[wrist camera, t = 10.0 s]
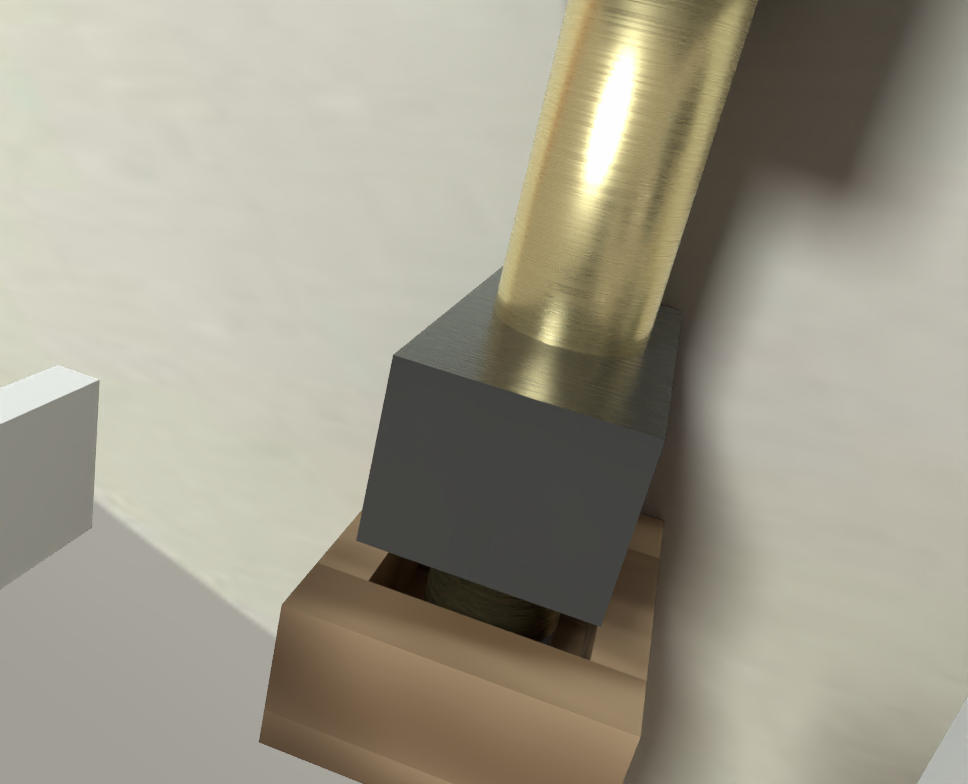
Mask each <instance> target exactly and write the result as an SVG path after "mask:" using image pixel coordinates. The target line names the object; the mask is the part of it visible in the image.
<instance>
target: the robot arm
mask: <svg viewBox="0 0 968 784" xmlns="http://www.w3.org/2000/svg"><path fill="white" fill-rule="evenodd" d="M98 399H99V379H96V378H93V377H90V376H88V375H85V374H82V373H79V372H76V371H73V370H71V369H68V368H65V367H62V366H59V365H56V366H54V367H51V368H49V369H46V370H44V371H41V372H39V373H36V374H34V375H31V376H29V377H26V378H24V379H21V380H19V381H16V382H14V383H11V384H9V385H6V386H4V387H1V388H0V589H1V588H3V587H4V586H6V585H7V584H9V583H10V582H12V581H13V580H15V579H16V578H18V577H19V576H21V575H22V574H23V573H25V572H27V571H28V570H30V569H31V568H33V567H34V566H36V565H37V564H39V563H40V562H41V561H43V560H45V559H46V558H47V557H49V556H51V555H52V554H53V553H55V552H56V551H58V550H59V549H61V548H62V547H64V546H65V545H67V544H68V543H70V542H71V541H73V540H74V539H76V538H77V537H79V536H80V535H82V534H83V533H85V532H86V531H88V530H89V529H91V528H92V514H93V495H94V476H95V456H96V437H97V418H98ZM917 784H968V697H967V698H966V700H965V702H964V704H963V705H962V707H961V709H960V710H959V712H958V714H957V716H956V717H955V719H954V721H953V722H952V724H951V726H950V728H949V729H948V731H947V733H946V734H945V736H944V738H943V740H942V741H941V743H940V745H939V747H938V748H937V750H936V752H935V753H934V755H933V757H932V759H931V760H930V762H929V764H928V765H927V767H926V769H925V771H924V772H923V774H922V776H921V777H920V779H919V781H918V783H917Z"/></svg>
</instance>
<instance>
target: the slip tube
mask: <svg viewBox="0 0 968 784" xmlns="http://www.w3.org/2000/svg"><path fill="white" fill-rule="evenodd" d="M757 2H758V0H568V3H567V7H566V11H565V15H564V19H563V23H562V28H561V32H560V36H559V40H558V44H557V48H556V52H555V56H554V60H553V65H552V69H551V73H550V77H549V81H548V85H547V89H546V93H545V97H544V102H543V106H542V110H541V114H540V118H539V122H538V126H537V130H536V134H535V139H534V143H533V147H532V151H531V155H530V159H529V163H528V167H527V171H526V176H525V180H524V184H523V188H522V192H521V196H520V200H519V204H518V208H517V213H516V217H515V221H514V225H513V229H512V233H511V237H510V241H509V245H508V250H507V254H506V258H505V262H504V266H503V267H501V268H500V269H499V270H498V271H496V272H495V273H494V274H493V275H491V276H490V277H489V278H488V279H487V280H485V281H484V282H483V283H482V284H480V285H479V286H478V287H477V288H475V289H474V290H473V291H472V292H470V293H469V294H468V295H467V296H466V297H464V298H463V299H462V300H461V301H459V302H458V303H457V304H456V305H454V306H453V307H452V308H451V309H449V310H448V311H447V312H446V313H445V314H443V315H442V316H441V317H440V318H438V319H437V320H436V321H435V322H433V323H432V324H431V325H430V326H428V327H427V328H426V329H425V330H424V331H422V332H421V333H420V334H419V335H417V336H416V337H415V338H414V339H412V340H411V341H410V342H409V343H407V344H406V345H405V346H404V347H403V348H401V349H400V350H399V351H398V352H396V353H395V354H394V355H393V359H392V364H391V369H390V374H389V379H388V384H387V389H386V394H385V399H384V404H383V409H382V414H381V419H380V424H379V429H378V434H377V439H376V444H375V449H374V454H373V459H372V464H371V469H370V474H369V479H368V484H367V489H366V494H365V499H364V504H363V509H362V514H361V519H360V524H359V529H358V534H357V539H356V541H358V542H361V543H364V544H366V545H369V546H372V547H375V548H378V549H381V550H383V551H386V552H389V553H392V554H395V555H398V556H400V557H403V558H406V559H409V560H412V561H415V562H418V563H420V564H423V565H426V566H429V567H430V570H429V574H428V579H427V583H426V587H425V591H424V595H423V599H422V600H423V601H425V602H428V603H431V604H434V605H437V606H439V607H442V608H445V609H448V610H451V611H453V612H456V613H459V614H462V615H464V616H467V617H470V618H473V619H476V620H478V621H481V622H484V623H487V624H490V625H492V626H495V627H498V628H501V629H503V630H506V631H509V632H512V633H515V634H517V635H520V636H523V637H526V638H529V639H531V640H534V641H537V642H540V643H542V644H545V645H548V646H550V645H551V642H552V639H553V636H554V633H555V630H556V626H557V623H558V620H559V617H560V614H561V613H562V614H565V615H568V616H571V617H574V618H577V619H580V620H582V621H585V622H588V623H591V624H594V625H597V626H599V627H601V625H602V622H603V619H604V616H605V613H606V610H607V607H608V604H609V602H610V599H611V596H612V593H613V590H614V587H615V584H616V581H617V578H618V576H619V573H620V570H621V567H622V564H623V561H624V558H625V555H626V553H627V550H628V547H629V544H630V541H631V538H632V535H633V532H634V529H635V527H636V524H637V521H638V518H639V515H640V512H641V509H642V506H643V504H644V501H645V498H646V495H647V492H648V489H649V486H650V483H651V480H652V478H653V475H654V472H655V469H656V466H657V463H658V460H659V457H660V455H661V452H662V449H663V446H664V443H665V440H666V432H667V425H668V417H669V410H670V402H671V394H672V387H673V379H674V371H675V364H676V356H677V349H678V341H679V333H680V326H681V318H682V311H681V310H677V309H674V308H670V307H667V306H663V305H660V304H661V300H662V297H663V294H664V291H665V288H666V285H667V282H668V279H669V276H670V273H671V269H672V266H673V263H674V260H675V257H676V254H677V251H678V248H679V245H680V241H681V238H682V235H683V232H684V229H685V226H686V223H687V220H688V217H689V214H690V210H691V207H692V204H693V201H694V198H695V195H696V192H697V189H698V186H699V183H700V179H701V176H702V173H703V170H704V167H705V164H706V161H707V158H708V155H709V151H710V148H711V145H712V142H713V139H714V136H715V133H716V130H717V127H718V124H719V120H720V117H721V114H722V111H723V108H724V105H725V102H726V99H727V96H728V92H729V89H730V86H731V83H732V80H733V77H734V74H735V71H736V68H737V65H738V61H739V58H740V55H741V52H742V49H743V46H744V43H745V40H746V37H747V33H748V30H749V27H750V24H751V21H752V18H753V15H754V12H755V9H756V6H757Z"/></svg>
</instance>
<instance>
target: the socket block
mask: <svg viewBox="0 0 968 784" xmlns="http://www.w3.org/2000/svg"><path fill="white" fill-rule="evenodd" d="M361 514H362V511H361V512H360V513H359V514H358V515H357V517H356V518H355V519H354V520H353V521H352V522H351V524H350V525H349V526H348V527H347V528H346V530H345V531H344V532H343V533H342V534H341V535H340V537H339V538H338V539H337V540H336V541H335V543H334V544H333V545H332V546H331V547H330V548H329V550H328V551H327V552H326V553H325V554H324V556H323V557H322V558H321V559H320V560H319V561H318V563H317V564H316V565H315V566H314V567H313V569H312V570H311V571H310V572H309V573H308V574H307V576H306V577H305V578H304V579H303V580H302V582H301V583H300V584H299V585H298V586H297V587H296V589H295V590H294V591H293V592H292V593H291V595H290V596H289V597H288V598H287V599H286V600H285V602H284V603H283V604H282V607H281V613H280V619H279V625H278V631H277V637H276V643H275V649H274V655H273V661H272V667H271V673H270V679H269V685H268V691H267V697H266V704H265V710H264V716H263V721H262V727H261V733H260V739H259V742H260V743H263V744H265V745H267V746H270V747H272V748H275V749H278V750H280V751H283V752H285V753H287V754H290V755H293V756H295V757H298V758H300V759H303V760H305V761H308V762H310V763H313V764H315V765H318V766H320V767H323V768H325V769H328V770H330V771H333V772H335V773H338V774H340V775H343V776H345V777H348V778H351V779H353V780H356V781H358V782H360V783H363V784H622V783H623V781H624V778H625V776H626V773H627V771H628V768H629V766H630V763H631V761H632V758H633V755H634V753H635V750H636V748H637V745H638V743H639V740H640V738H641V729H642V720H643V711H644V702H645V693H646V683H647V674H648V665H649V656H650V647H651V638H652V628H653V619H654V610H655V601H656V592H657V583H658V574H659V564H660V555H661V546H662V537H663V528H664V521H662V520H659V519H656V518H653V517H650V516H647V515H644V514H641V513H640V515H639V518H638V521H637V524H636V527H635V529H634V532H633V535H632V538H631V541H630V544H629V547H628V550H627V553H626V555H625V558H624V561H623V564H622V567H621V570H620V573H619V576H618V578H617V581H616V584H615V587H614V590H613V593H612V596H611V599H610V602H609V604H608V607H607V610H606V613H605V616H604V619H603V622H602V625H601V627H599V626H597V625H594V624H591V623H588V622H585V621H582V620H580V619H577V618H574V617H571V616H568V615H565V614H562V613H561V614H560V617H559V620H558V623H557V626H556V630H555V633H554V636H553V639H552V642H551V645H550V646H548V645H545V644H542V643H540V642H537V641H534V640H531V639H529V638H526V637H523V636H520V635H517V634H515V633H512V632H509V631H506V630H503V629H501V628H498V627H495V626H492V625H490V624H487V623H484V622H481V621H478V620H476V619H473V618H470V617H467V616H464V615H462V614H459V613H456V612H453V611H451V610H448V609H445V608H442V607H439V606H437V605H434V604H431V603H428V602H425V601H423V600H422V599H423V595H424V591H425V587H426V583H427V579H428V574H429V570H430V567H429V566H426V565H423V564H420V563H418V562H415V561H412V560H409V559H406V558H403V557H400V556H398V555H395V554H392V553H389V552H386V551H383V550H381V549H378V548H375V547H372V546H369V545H366V544H364V543H361V542H358V541H356V539H357V534H358V529H359V524H360V519H361Z"/></svg>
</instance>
